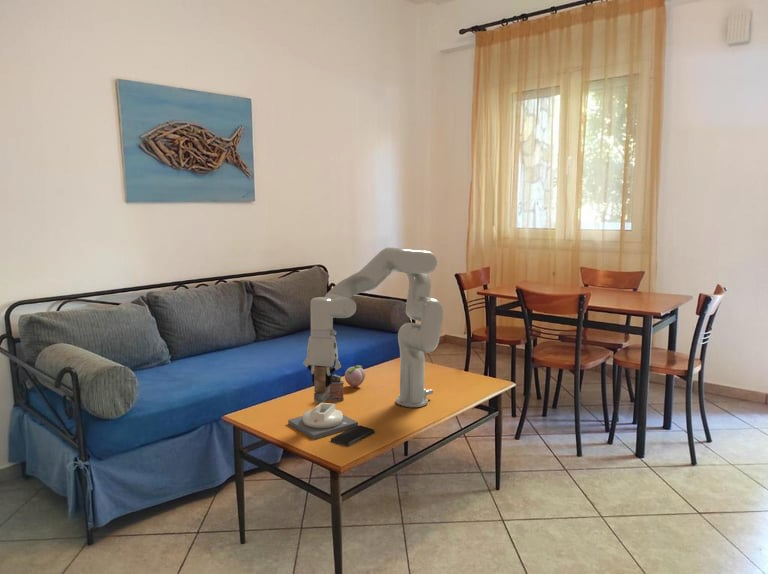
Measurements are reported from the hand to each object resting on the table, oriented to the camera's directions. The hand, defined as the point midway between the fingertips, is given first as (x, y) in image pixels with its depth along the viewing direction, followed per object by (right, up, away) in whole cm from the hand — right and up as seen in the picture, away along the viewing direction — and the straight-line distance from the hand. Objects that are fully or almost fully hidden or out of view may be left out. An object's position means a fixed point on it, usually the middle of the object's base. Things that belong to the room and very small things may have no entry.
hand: (322, 384), depth 190 cm
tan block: (0, -5, +1) cm, 5 cm away
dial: (0, -13, +2) cm, 13 cm away
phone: (+11, -17, -7) cm, 21 cm away
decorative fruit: (+9, -9, +43) cm, 45 cm away
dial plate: (0, -15, +2) cm, 15 cm away
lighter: (+2, -11, +29) cm, 31 cm away
